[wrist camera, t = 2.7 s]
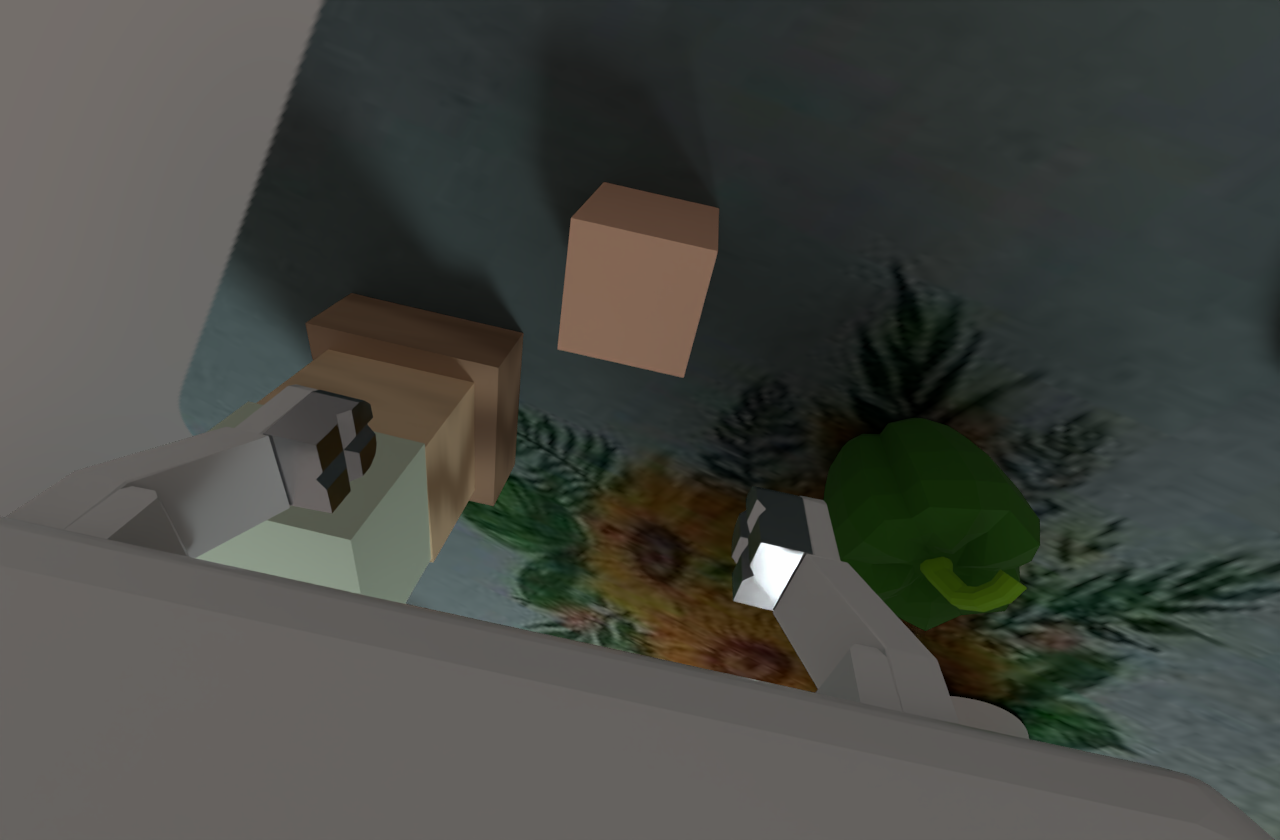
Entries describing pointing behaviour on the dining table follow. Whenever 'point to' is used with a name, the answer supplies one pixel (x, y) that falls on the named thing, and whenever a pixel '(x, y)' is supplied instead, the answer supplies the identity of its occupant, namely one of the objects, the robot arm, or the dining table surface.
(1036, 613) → the dining table surface
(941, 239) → the dining table surface
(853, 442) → the bell pepper
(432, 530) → the oak cube
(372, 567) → the sage cube
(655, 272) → the terracotta block
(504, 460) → the walnut slab
